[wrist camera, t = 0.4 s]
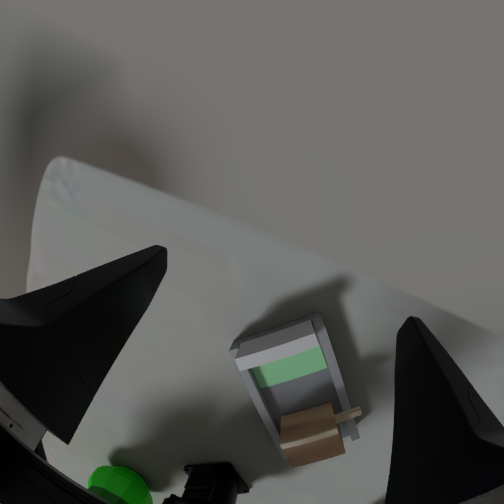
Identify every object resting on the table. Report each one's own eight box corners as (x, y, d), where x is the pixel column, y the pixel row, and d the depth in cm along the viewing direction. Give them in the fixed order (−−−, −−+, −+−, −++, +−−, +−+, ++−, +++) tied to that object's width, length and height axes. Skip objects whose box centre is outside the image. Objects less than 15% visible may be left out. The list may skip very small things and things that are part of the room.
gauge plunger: (361, 419, 22) (371, 445, 18) (292, 440, 23) (292, 468, 19) (354, 392, 22) (364, 419, 18) (281, 416, 23) (279, 444, 19)
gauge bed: (355, 425, 24) (364, 451, 19) (284, 446, 25) (282, 474, 20) (319, 311, 23) (326, 328, 19) (233, 341, 24) (223, 362, 20)
